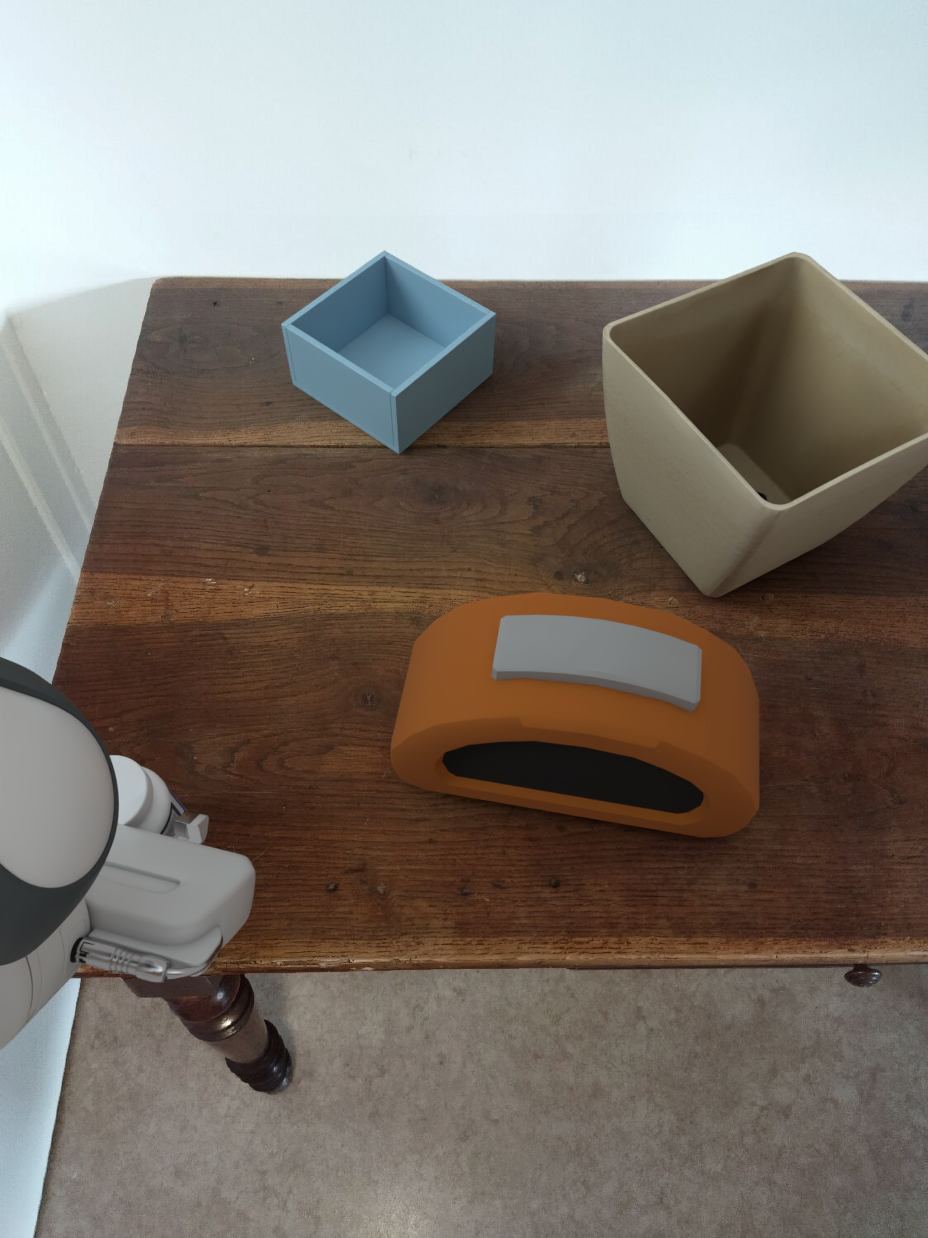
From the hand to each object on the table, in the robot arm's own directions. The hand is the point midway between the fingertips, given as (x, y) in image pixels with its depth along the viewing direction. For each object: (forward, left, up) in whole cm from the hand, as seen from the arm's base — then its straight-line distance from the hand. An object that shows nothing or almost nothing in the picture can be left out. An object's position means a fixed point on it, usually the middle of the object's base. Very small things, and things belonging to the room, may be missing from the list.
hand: (134, 807), depth 55 cm
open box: (-17, +42, -5) cm, 46 cm away
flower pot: (+15, +48, -6) cm, 51 cm away
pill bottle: (0, -1, -6) cm, 6 cm away
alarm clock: (+18, +22, -6) cm, 29 cm away
